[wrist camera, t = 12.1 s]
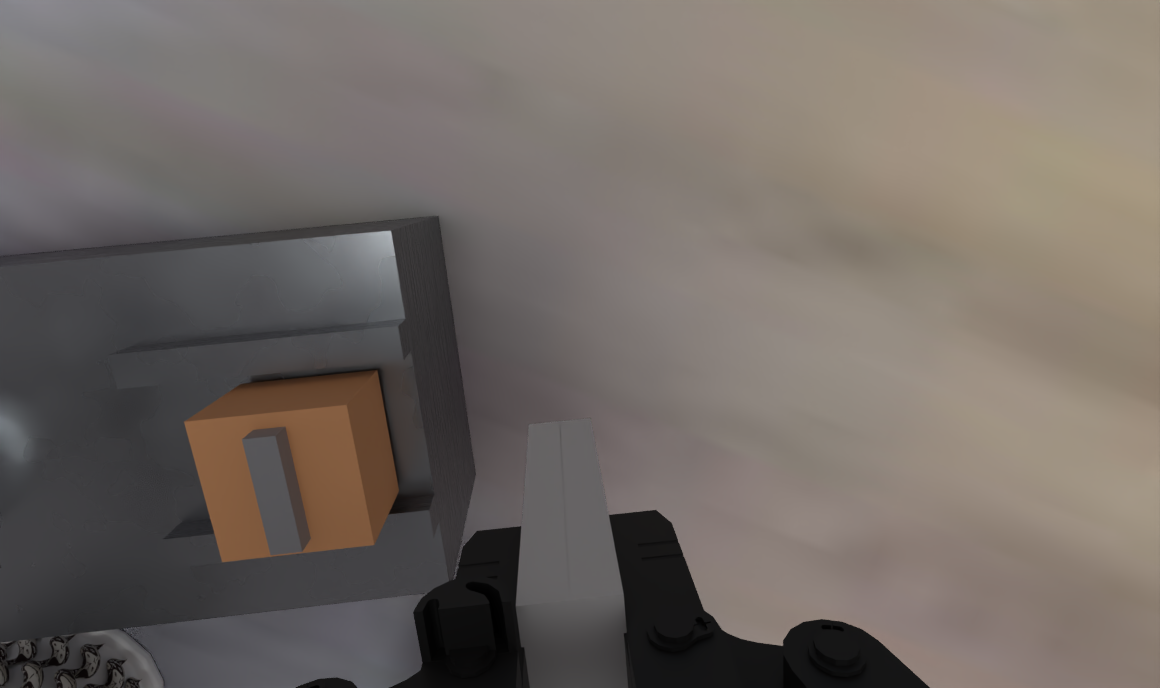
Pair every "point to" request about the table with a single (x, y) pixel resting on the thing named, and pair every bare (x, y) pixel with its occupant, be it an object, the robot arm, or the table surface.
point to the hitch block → (192, 382)
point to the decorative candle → (78, 662)
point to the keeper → (295, 465)
